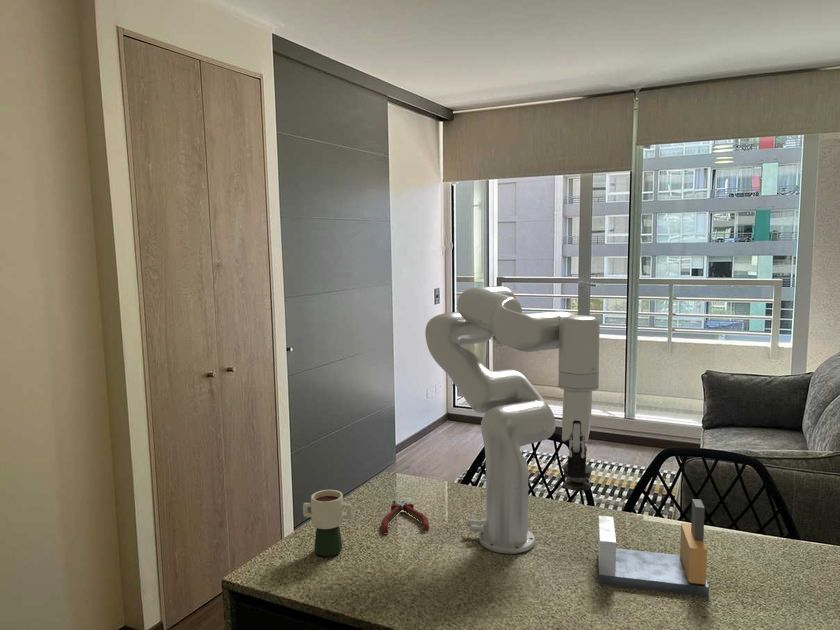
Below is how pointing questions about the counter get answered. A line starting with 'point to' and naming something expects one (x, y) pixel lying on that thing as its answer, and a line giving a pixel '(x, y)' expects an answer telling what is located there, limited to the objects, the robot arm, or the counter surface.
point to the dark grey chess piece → (578, 483)
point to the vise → (641, 566)
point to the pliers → (408, 508)
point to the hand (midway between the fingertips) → (577, 470)
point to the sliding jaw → (694, 545)
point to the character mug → (327, 520)
